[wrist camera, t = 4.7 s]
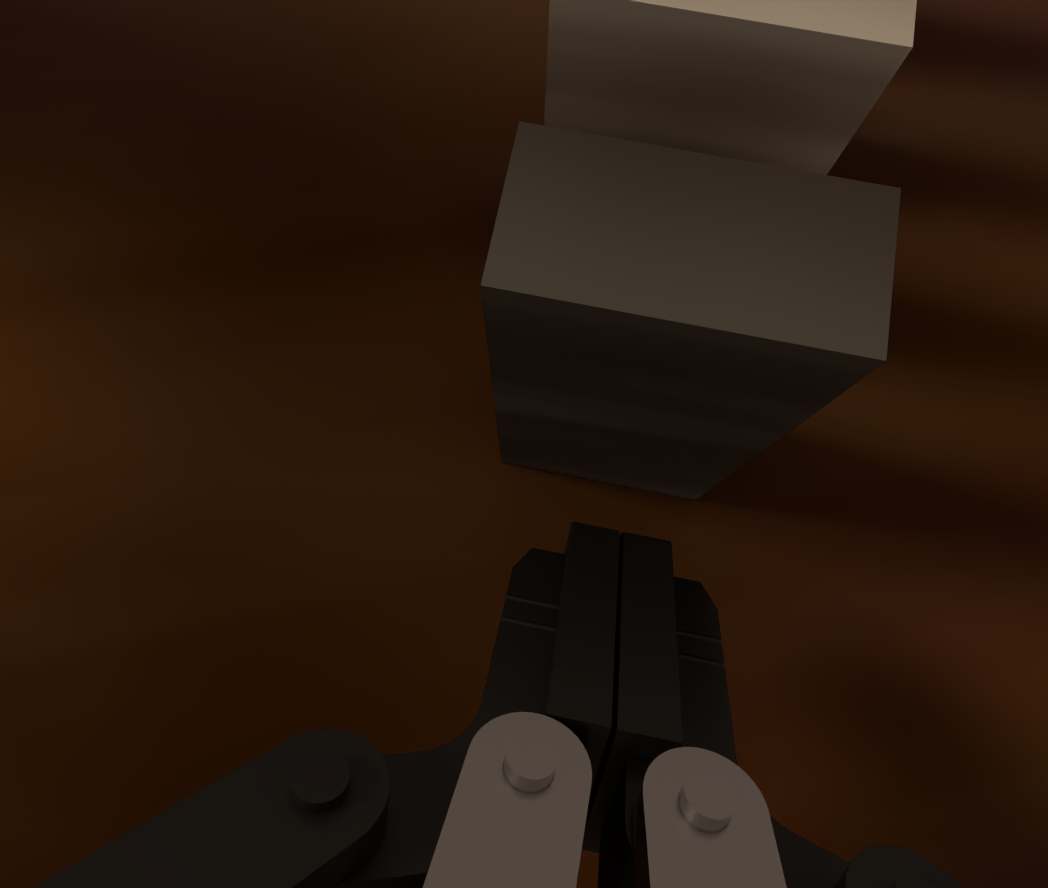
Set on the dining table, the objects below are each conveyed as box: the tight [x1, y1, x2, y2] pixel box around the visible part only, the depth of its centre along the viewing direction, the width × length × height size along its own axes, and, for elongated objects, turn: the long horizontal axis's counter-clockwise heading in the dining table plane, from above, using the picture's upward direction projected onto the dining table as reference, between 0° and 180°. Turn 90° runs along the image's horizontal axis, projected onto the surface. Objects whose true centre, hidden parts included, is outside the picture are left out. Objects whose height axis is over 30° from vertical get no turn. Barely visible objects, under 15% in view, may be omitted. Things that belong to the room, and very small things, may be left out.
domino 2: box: [481, 121, 901, 500], centre depth 14 cm, size 2×5×10 cm, turn 79°
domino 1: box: [544, 0, 917, 175], centre depth 15 cm, size 2×5×10 cm, turn 79°
